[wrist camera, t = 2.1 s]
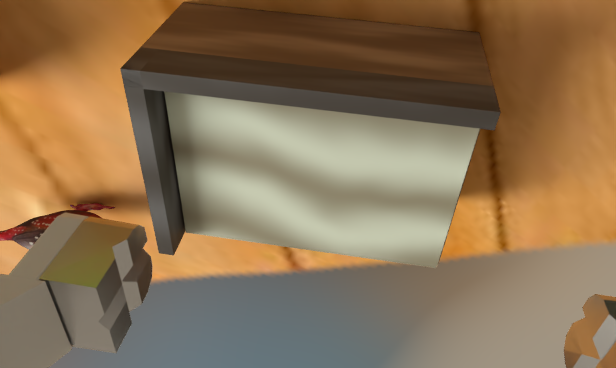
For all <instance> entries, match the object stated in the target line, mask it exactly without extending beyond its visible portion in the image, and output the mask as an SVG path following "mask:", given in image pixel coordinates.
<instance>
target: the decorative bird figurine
mask: <svg viewBox="0 0 616 368" xmlns="http://www.w3.org/2000/svg"><path fill="white" fill-rule="evenodd" d="M70 206H71V207H72V208H75V209H76V210H66V211H60V212H56V213H52V214H49V215H45V216H40V217H36V218H33V219H30V220H28V221H26V222H24V223H22V224H20V225H18V226H16V227H14V228H11V229H8V230H5V231H0V241H2V240H13V241H15V242H17V243H18V244H20V245H21V246H23V247H25V248H27V249H29V250H30V248H31V247H32V246H33V245H34V244H35V242H36V241H37V240H38V239H39V238H40V236H41V235H42V234H43V233H44V232H45V230H46V229H47V228H48V227H49V226H50V224H51V223H52V222H53V221H54V220H55V218H56V217H57V216H59V215H61V214H63V213H65V212H66V213H71V214H77V215H83V216H88V217H90V216H91V217H97V218H101V217H100V216H98V215H96V214H94V213H91V212H86V211H88V210H101V209H103V208H109V209H112V208H115V207H108V206H104V205H102V204H99V203H95V204H78V205H77V206H76V207H75V206H73V205H70ZM102 219H103V218H102Z"/></svg>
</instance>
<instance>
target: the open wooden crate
mask: <svg viewBox="0 0 616 368" xmlns="http://www.w3.org/2000/svg"><path fill="white" fill-rule="evenodd" d="M121 74H122V78H123V83H124V88H125V93H126V98H127V102H128V107H129V112H130V117H131V121H132V126H133V131H134V136H135V141H136V145H137V150H138V155H139V160H140V164H141V169H142V174H143V179H144V183H145V188H146V193H147V198H148V203H149V207H150V212H151V217H152V222H153V226H154V231H155V236H156V241H157V246H158V250H159V253H162V254H169V255H174V254H175V251H176V249H177V247H178V245H179V243H180V241H181V239H182V237H183V235H184V233H185V231H186V233H193V234H200V235H207V236H214V237H221V238H228V239H235V240H242V241H249V242H256V243H263V244H271V245H278V246H285V247H292V248H299V249H306V250H313V251H320V252H327V253H334V254H341V255H348V256H355V257H362V258H369V259H376V260H383V261H390V262H397V263H404V264H411V265H418V266H425V267H433V268H437V265H438V263H439V260H440V257H441V254H442V250H443V247H444V244H445V241H446V238H447V234H448V231H449V228H450V225H451V221H452V218H453V215H454V212H455V209H456V205H457V202H458V199H459V196H460V193H461V189H462V186H463V183H464V180H465V176H466V173H467V170H468V167H469V164H470V160H471V157H472V154H473V151H474V148H475V144H476V141H477V138H478V135H479V131H480V129H487V130H495V128H496V125H497V122H498V119H499V116H500V113H501V112H500V108H499V104H498V101H497V97H496V93H495V89H494V86H493V82H492V78H491V75H490V71H489V67H488V63H487V60H486V56H485V52H484V48H483V45H482V41H481V37H480V33H479V32H469V31H460V30H450V29H440V28H430V27H420V26H410V25H401V24H391V23H381V22H371V21H361V20H351V19H342V18H332V17H322V16H312V15H302V14H292V13H283V12H273V11H263V10H253V9H243V8H233V7H224V6H214V5H204V4H194V3H184V2H183V3H182V4H181V5H180V6H179V7H178V8H177V9H176V10H175V11H174V13H173V14H172V15H171V16H170V17H169V18H168V19H167V20H166V21H165V22H164V23H163V24H162V25H161V26H160V27H159V28H158V29H157V31H156V32H155V33H154V34H153V35H152V36H151V37H150V38H149V39H148V40H147V41H146V42H145V43H144V44H143V45H142V46H141V47H140V49H139V50H138V51H137V52H136V53H135V54H134V55H133V56H132V57H131V58H130V59H129V60H128V61H127V62H126V63H125V64H124V65H123V66H122V68H121Z"/></svg>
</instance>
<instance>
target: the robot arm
mask: <svg viewBox="0 0 616 368" xmlns="http://www.w3.org/2000/svg"><path fill="white" fill-rule="evenodd" d="M146 242H147V236H146V232H145V228H144V227H142V226H140V225H136V224H130V223H124V222H119V221H113V220H108V219H102V218H97V217H91V216H90V217H88V216H83V215H77V214H71V213H66V212H65V213H63V214H61V215H59V216H57V217H56V218H55V220H54V221H53V222H52V223H51V224H50V226H49V227H48V228H47V229H46V230H45V232H44V233H43V234H42V235H41V236H40V238H39V239H38V240H37V241H36V242H35V244H34V245H33V246H32V247H31V248H30V250H29V251H28V252H27V253H26V255H25V256H24V257H23V258H22V259H21V261H20V262H19V263H18V264H17V265H16V267H15V268H14V269H13V270H12V271H11V273H10V274H9V275H5V274H0V368H48V367H50V366H51V365H52V364H54V363H55V362H56V361H57V360H59V359H60V358H61V357H63V355H65V354H66V353H68V352H69V351H70V350H72V347H78V348H85V349H91V350H98V351H105V352H112V353H117V351H118V349H119V347H120V345H121V343H122V341H123V339H124V337H125V336H126V334H127V332H128V330H129V328H130V326H131V324H132V321H131V317H130V313H129V312H130V311H132V310H133V309H134V308H136V307H138V306H139V305H141V304H142V303H143V301H144V299H145V297H146V295H147V293H148V290H149V286H150V282H151V278H152V261H151V257H150V255H149V254H148V253H147V252H146V251H145V250H144V249H143V247H144V245H145V243H146ZM582 308H583V311H584V314H585V318H583V319H581V320H579V321H577V322H575V323H573V324H572V326H571V327H570V329H569V331H568V333H567V335H566V340H565V346H564V356H565V357H564V358H565V365H566V368H616V297H612V296H604V295H598V294H595V295H593V296H591V297H590V298H588V300H587V301H586V303H585V304H584V306H583V307H582Z"/></svg>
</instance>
